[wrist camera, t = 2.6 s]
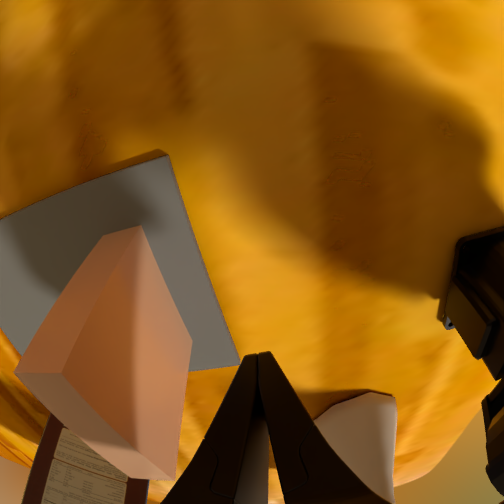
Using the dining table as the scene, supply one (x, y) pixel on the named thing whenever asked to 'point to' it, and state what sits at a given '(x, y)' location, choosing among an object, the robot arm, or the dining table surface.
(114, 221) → the mat
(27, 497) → the protein box
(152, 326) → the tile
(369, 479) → the flask
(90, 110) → the dining table surface
